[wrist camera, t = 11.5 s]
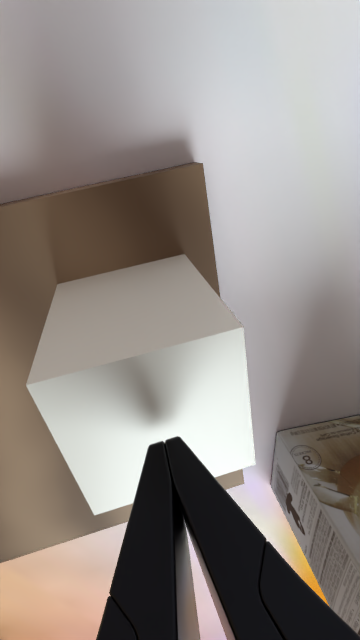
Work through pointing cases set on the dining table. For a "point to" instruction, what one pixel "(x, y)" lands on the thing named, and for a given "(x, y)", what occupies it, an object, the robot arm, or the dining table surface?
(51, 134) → the dining table surface
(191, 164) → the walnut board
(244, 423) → the white rectangular block
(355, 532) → the coffee box
